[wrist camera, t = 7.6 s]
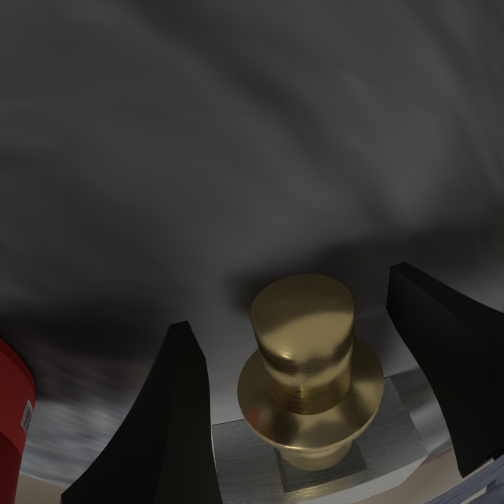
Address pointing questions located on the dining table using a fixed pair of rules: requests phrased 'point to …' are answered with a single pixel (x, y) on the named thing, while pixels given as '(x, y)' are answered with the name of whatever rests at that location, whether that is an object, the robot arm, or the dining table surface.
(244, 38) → the dining table surface
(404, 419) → the housing
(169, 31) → the dining table surface
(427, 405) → the dining table surface
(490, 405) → the robot arm
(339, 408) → the brass flanged cylinder
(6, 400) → the canned food
